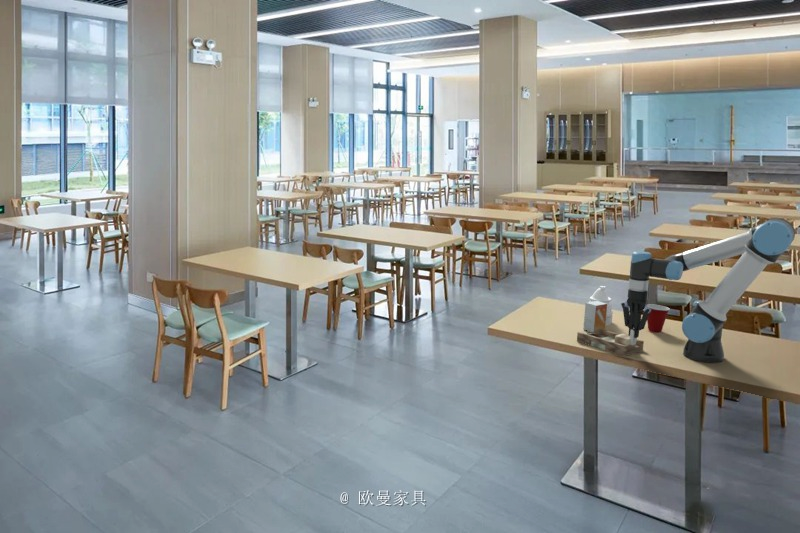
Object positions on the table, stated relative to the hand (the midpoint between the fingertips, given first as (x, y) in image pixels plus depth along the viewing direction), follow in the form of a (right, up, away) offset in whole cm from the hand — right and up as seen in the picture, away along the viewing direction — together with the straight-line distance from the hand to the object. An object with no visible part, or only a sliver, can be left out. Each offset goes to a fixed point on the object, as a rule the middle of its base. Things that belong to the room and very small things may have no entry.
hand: (632, 344), depth 266 cm
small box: (-6, +2, +32) cm, 33 cm away
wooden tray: (-7, -2, +9) cm, 12 cm away
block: (-2, -1, +3) cm, 4 cm away
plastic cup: (+22, +2, +32) cm, 39 cm away
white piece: (0, +5, +46) cm, 47 cm away
